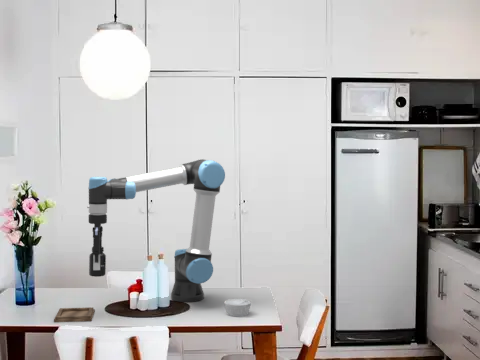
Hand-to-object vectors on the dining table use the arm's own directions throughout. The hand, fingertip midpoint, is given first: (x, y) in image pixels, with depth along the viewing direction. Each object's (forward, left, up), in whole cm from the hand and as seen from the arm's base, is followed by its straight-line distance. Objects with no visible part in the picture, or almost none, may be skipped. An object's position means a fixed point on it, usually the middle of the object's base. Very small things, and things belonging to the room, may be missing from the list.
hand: (97, 268), depth 303 cm
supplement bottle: (0, 0, -3) cm, 3 cm away
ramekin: (-59, +5, -20) cm, 62 cm away
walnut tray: (+9, +3, -20) cm, 22 cm away
